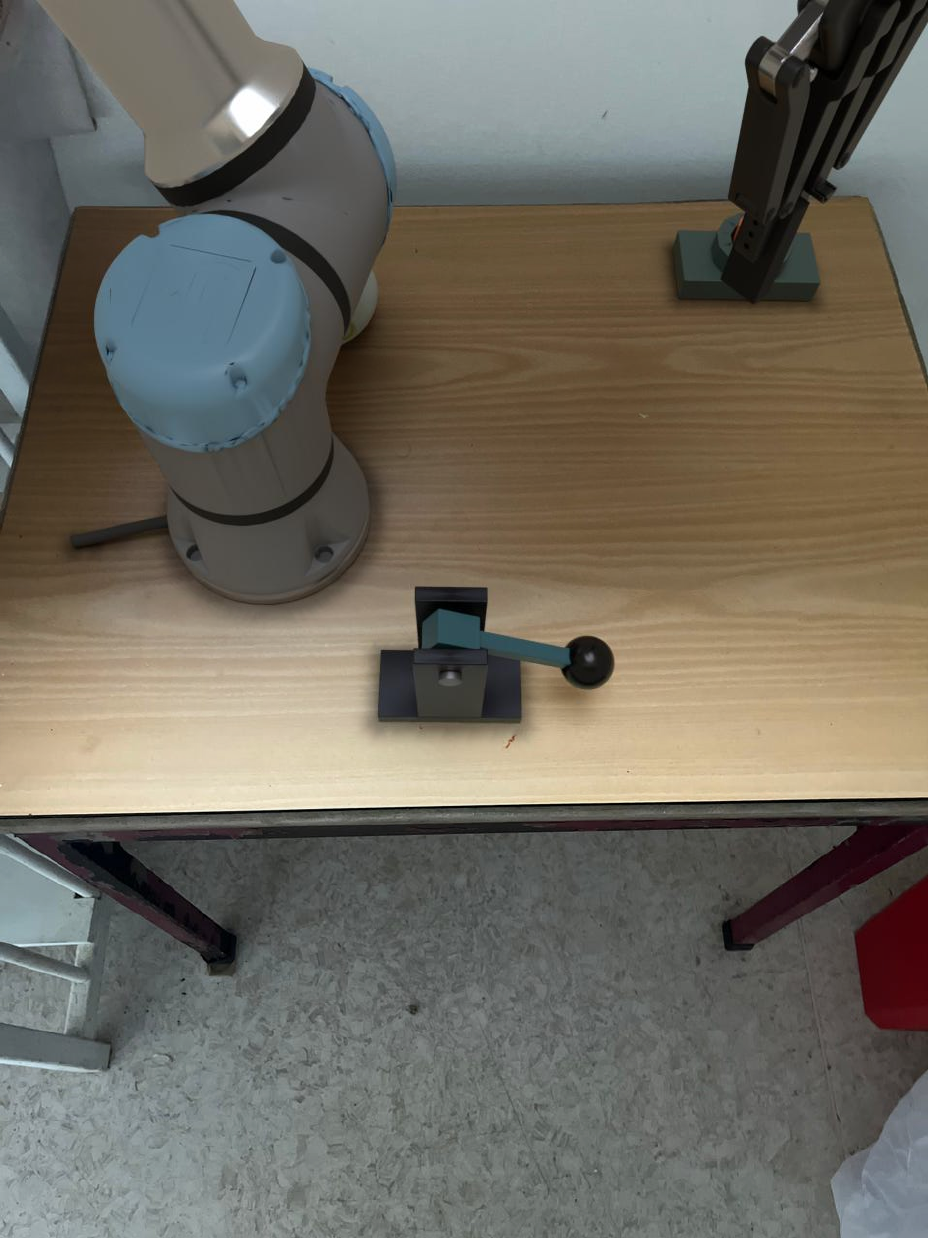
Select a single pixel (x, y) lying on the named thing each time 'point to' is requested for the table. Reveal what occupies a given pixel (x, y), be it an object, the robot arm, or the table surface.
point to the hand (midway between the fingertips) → (744, 285)
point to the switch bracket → (449, 671)
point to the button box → (709, 252)
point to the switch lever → (523, 648)
